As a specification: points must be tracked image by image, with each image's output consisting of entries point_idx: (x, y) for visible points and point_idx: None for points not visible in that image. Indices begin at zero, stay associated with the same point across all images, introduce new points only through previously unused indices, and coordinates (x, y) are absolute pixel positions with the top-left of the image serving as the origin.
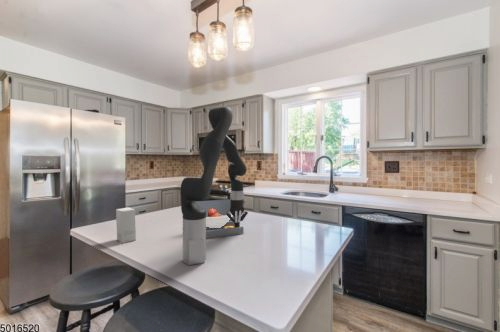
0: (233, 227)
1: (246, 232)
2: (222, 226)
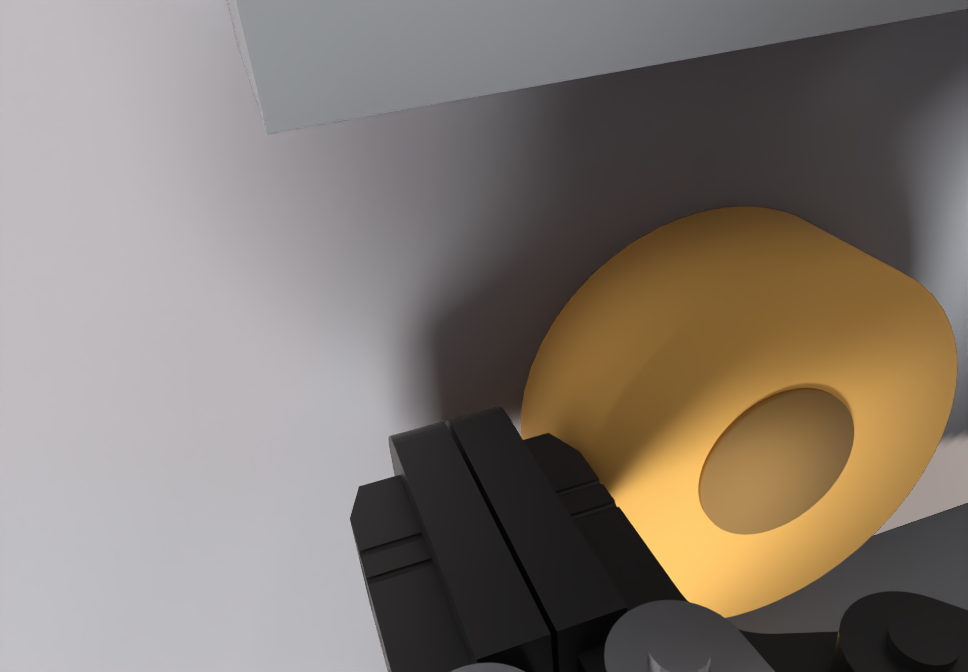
0: (633, 451)
1: (5, 75)
2: None
